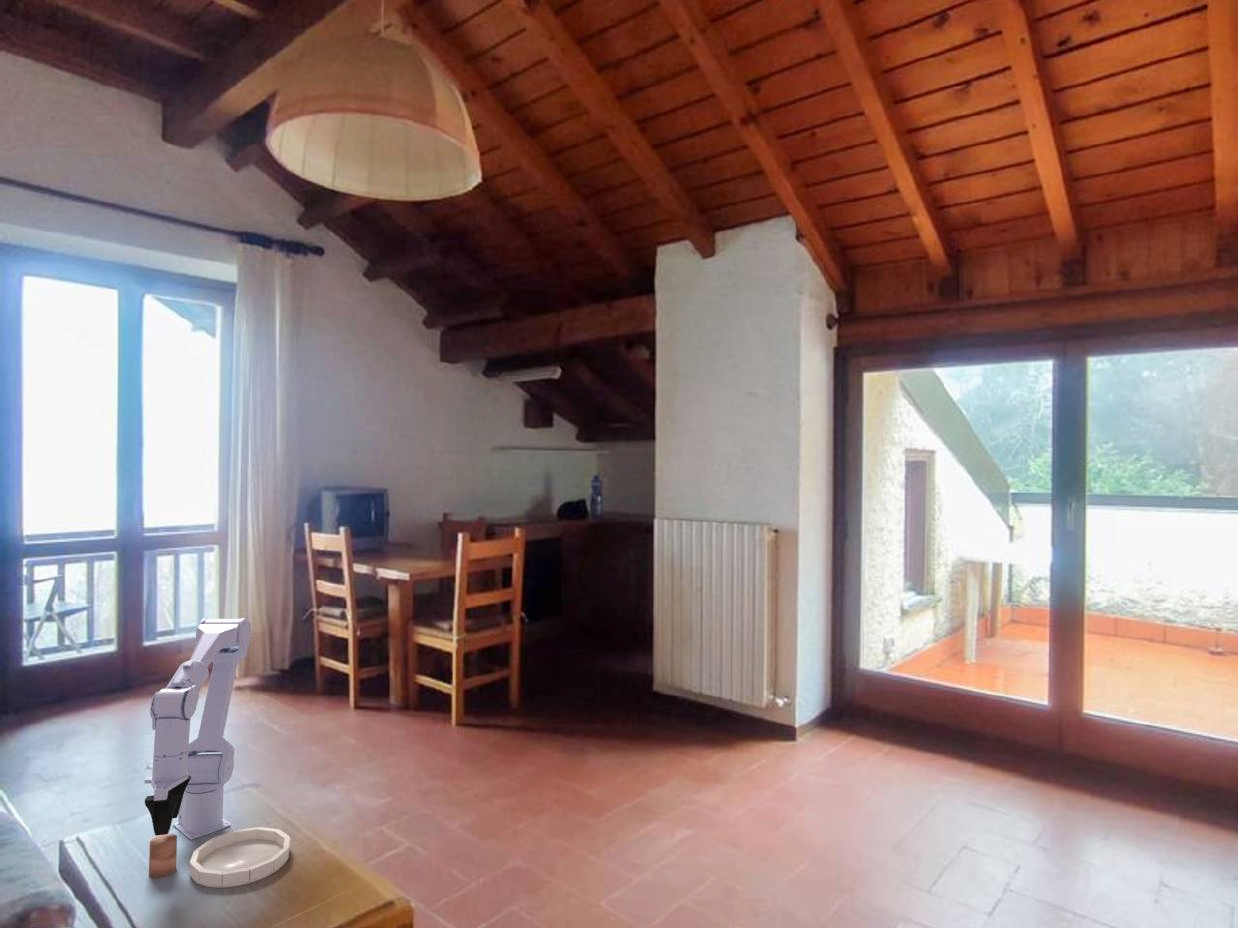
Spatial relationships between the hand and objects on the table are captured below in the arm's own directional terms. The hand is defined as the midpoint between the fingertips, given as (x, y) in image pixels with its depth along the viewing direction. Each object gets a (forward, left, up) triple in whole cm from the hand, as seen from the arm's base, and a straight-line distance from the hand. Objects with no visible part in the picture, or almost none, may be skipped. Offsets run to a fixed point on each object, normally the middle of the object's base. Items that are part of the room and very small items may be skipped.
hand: (166, 825), depth 138 cm
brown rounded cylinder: (-1, 0, -9) cm, 9 cm away
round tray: (+7, +11, -9) cm, 16 cm away
